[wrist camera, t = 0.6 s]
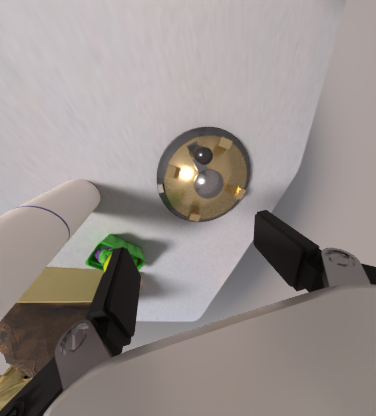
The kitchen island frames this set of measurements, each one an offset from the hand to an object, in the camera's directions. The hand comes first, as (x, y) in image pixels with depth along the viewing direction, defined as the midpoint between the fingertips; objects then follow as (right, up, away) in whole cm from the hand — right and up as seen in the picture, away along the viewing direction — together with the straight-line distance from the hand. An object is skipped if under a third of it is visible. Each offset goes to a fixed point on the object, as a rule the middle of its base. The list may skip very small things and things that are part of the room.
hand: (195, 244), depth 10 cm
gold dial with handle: (+3, +9, +22) cm, 23 cm away
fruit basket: (-18, -7, +28) cm, 34 cm away
